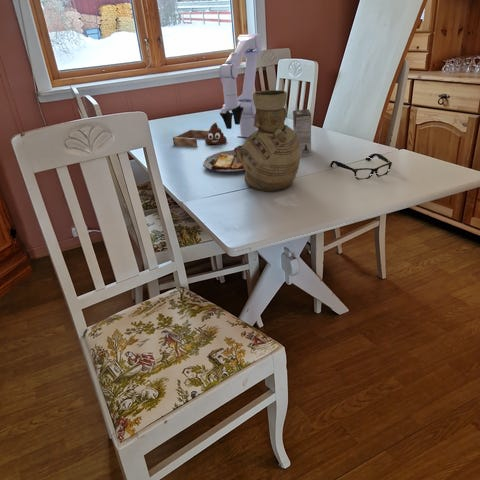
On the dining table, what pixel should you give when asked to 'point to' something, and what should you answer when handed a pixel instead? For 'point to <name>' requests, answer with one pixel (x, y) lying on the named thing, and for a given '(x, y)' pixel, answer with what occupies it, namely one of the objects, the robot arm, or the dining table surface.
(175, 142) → the brown u-shaped block
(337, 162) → the glasses
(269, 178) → the ceramic vessel
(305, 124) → the coffee box
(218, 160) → the food plate
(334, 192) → the dining table surface
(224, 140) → the poop emoji
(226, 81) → the robot arm
